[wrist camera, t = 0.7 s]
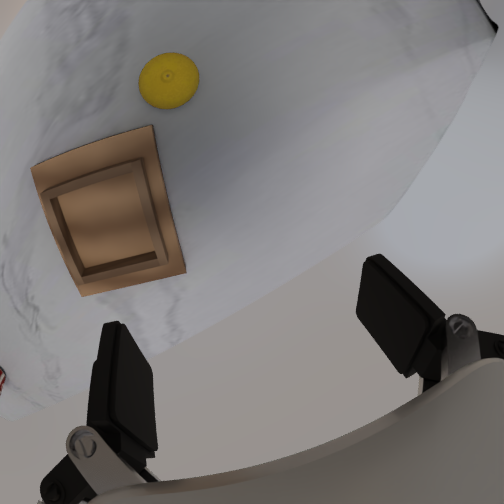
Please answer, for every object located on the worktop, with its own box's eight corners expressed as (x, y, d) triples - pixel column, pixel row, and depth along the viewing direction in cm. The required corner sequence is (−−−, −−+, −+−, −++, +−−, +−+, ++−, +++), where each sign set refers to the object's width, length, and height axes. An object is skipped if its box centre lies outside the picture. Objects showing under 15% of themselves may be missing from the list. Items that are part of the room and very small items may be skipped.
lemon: (174, 118, 26) (173, 121, 19) (133, 92, 23) (118, 87, 16) (207, 78, 24) (217, 68, 18) (166, 51, 22) (163, 32, 15)
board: (35, 165, 23) (22, 172, 20) (152, 124, 25) (149, 126, 23) (84, 290, 33) (78, 306, 30) (185, 266, 35) (187, 282, 32)
